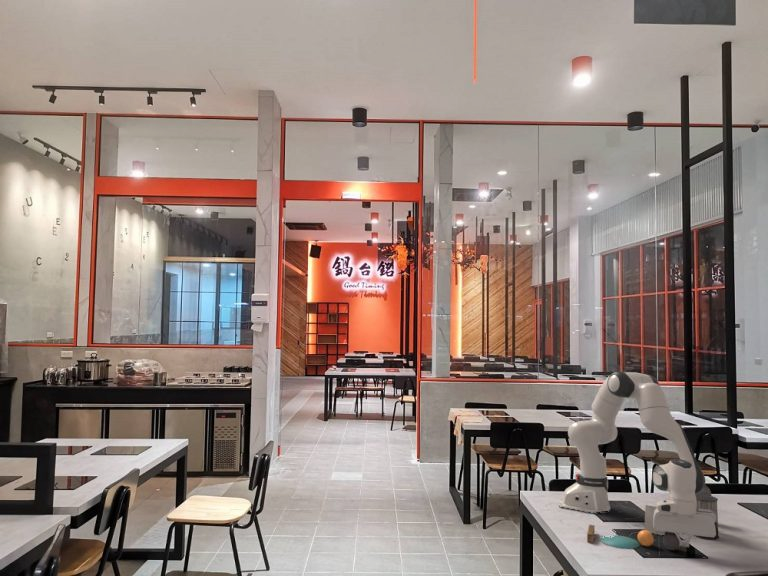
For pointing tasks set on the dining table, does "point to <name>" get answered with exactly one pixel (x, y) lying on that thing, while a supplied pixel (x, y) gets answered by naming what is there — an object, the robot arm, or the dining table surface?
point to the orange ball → (645, 538)
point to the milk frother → (710, 504)
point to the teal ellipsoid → (620, 542)
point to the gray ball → (671, 542)
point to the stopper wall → (590, 533)
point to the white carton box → (651, 520)
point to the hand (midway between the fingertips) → (684, 546)
